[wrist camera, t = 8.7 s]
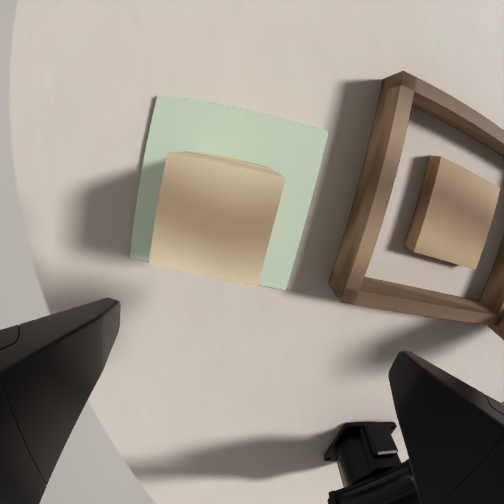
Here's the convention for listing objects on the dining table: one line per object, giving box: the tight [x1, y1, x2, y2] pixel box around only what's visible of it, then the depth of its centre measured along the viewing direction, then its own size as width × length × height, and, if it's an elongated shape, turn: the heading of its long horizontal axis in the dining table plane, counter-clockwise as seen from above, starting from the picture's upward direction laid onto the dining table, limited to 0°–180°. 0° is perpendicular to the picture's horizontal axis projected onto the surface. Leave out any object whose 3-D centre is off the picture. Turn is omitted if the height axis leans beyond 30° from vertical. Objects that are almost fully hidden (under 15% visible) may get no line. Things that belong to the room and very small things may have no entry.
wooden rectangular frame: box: [329, 71, 504, 326], centre depth 19 cm, size 15×17×3 cm
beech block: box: [149, 151, 286, 287], centre depth 16 cm, size 4×4×8 cm
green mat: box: [130, 95, 329, 290], centre depth 20 cm, size 11×11×1 cm
